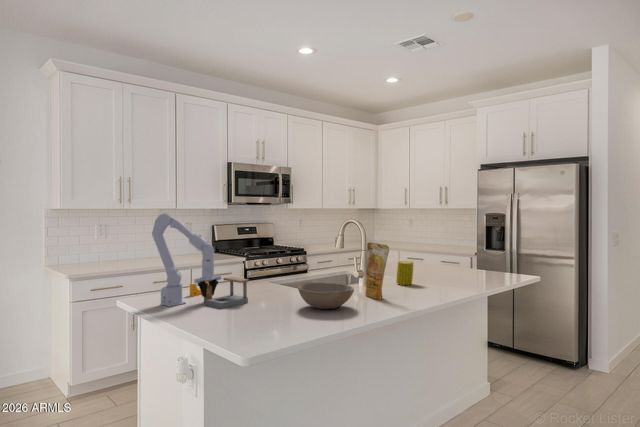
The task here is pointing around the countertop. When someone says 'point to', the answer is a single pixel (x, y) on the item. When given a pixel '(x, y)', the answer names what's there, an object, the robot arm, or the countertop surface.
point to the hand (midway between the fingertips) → (208, 295)
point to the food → (404, 273)
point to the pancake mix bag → (375, 269)
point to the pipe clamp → (195, 290)
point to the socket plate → (230, 299)
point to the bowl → (325, 294)
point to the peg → (208, 293)
